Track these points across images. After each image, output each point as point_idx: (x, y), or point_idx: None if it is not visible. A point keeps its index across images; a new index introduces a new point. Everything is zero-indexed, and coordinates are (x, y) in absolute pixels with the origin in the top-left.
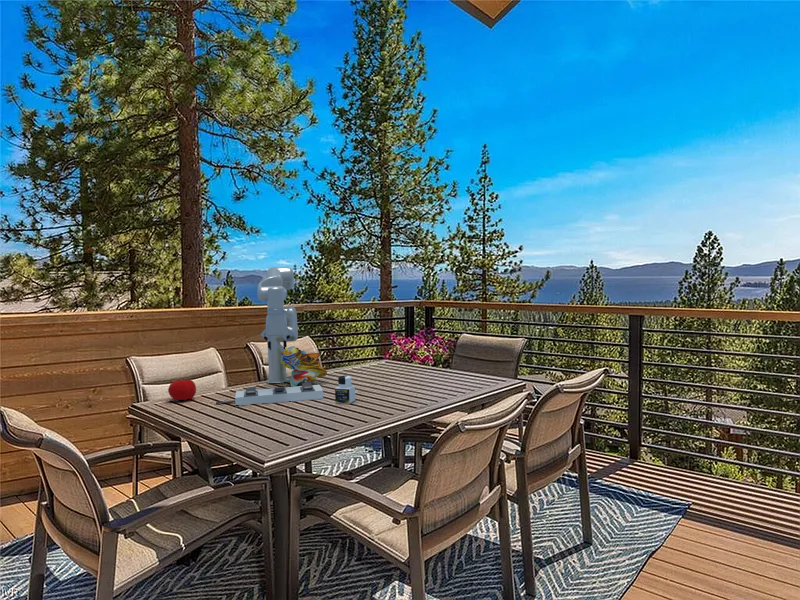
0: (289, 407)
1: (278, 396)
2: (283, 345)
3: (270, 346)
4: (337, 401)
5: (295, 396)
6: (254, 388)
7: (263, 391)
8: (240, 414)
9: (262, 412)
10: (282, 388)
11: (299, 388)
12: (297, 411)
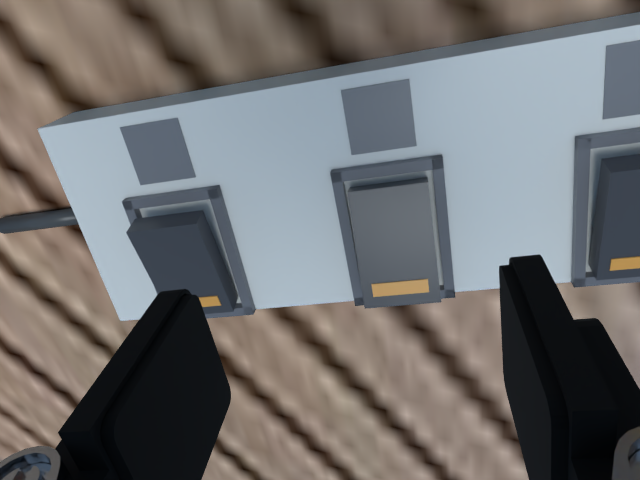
0: (465, 381)
1: None
2: (514, 321)
3: (200, 459)
4: None
5: None
6: (198, 253)
7: (262, 187)
8: (228, 432)
9: (327, 429)
10: (424, 299)
11: (569, 142)
12: (506, 455)
